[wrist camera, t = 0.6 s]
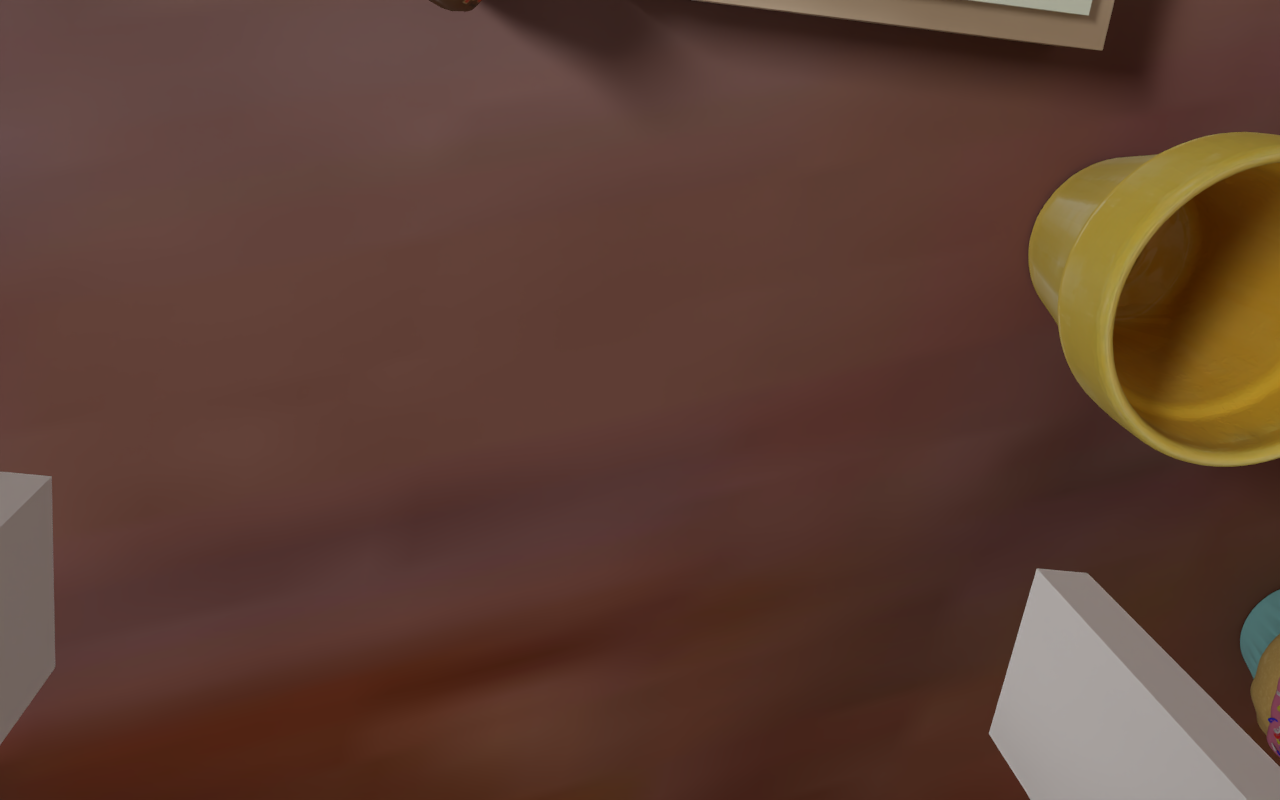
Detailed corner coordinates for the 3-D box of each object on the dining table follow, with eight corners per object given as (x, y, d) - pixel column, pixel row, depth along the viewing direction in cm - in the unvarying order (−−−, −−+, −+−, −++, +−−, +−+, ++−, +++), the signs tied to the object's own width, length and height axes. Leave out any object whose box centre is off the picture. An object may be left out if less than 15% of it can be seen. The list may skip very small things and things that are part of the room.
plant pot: (1135, 415, 46) (1287, 520, 37) (928, 305, 43) (1036, 388, 34) (1291, 189, 43) (1498, 241, 34) (1081, 57, 41) (1243, 76, 31)
